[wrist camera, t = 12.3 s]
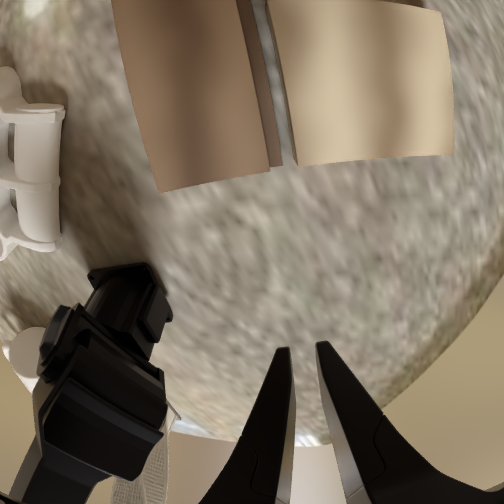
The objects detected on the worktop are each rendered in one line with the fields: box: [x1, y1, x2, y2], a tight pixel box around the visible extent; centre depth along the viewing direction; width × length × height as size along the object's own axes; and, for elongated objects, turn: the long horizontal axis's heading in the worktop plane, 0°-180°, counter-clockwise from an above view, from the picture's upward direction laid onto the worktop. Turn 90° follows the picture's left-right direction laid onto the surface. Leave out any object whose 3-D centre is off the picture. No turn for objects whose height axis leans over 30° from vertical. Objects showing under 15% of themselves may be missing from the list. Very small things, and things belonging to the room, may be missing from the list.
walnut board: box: [111, 0, 283, 193], centre depth 11 cm, size 8×22×2 cm, turn 11°
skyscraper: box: [111, 399, 181, 504], centre depth 25 cm, size 8×8×28 cm
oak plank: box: [266, 0, 454, 167], centre depth 13 cm, size 11×10×2 cm
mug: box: [2, 327, 46, 394], centre depth 27 cm, size 12×10×8 cm
